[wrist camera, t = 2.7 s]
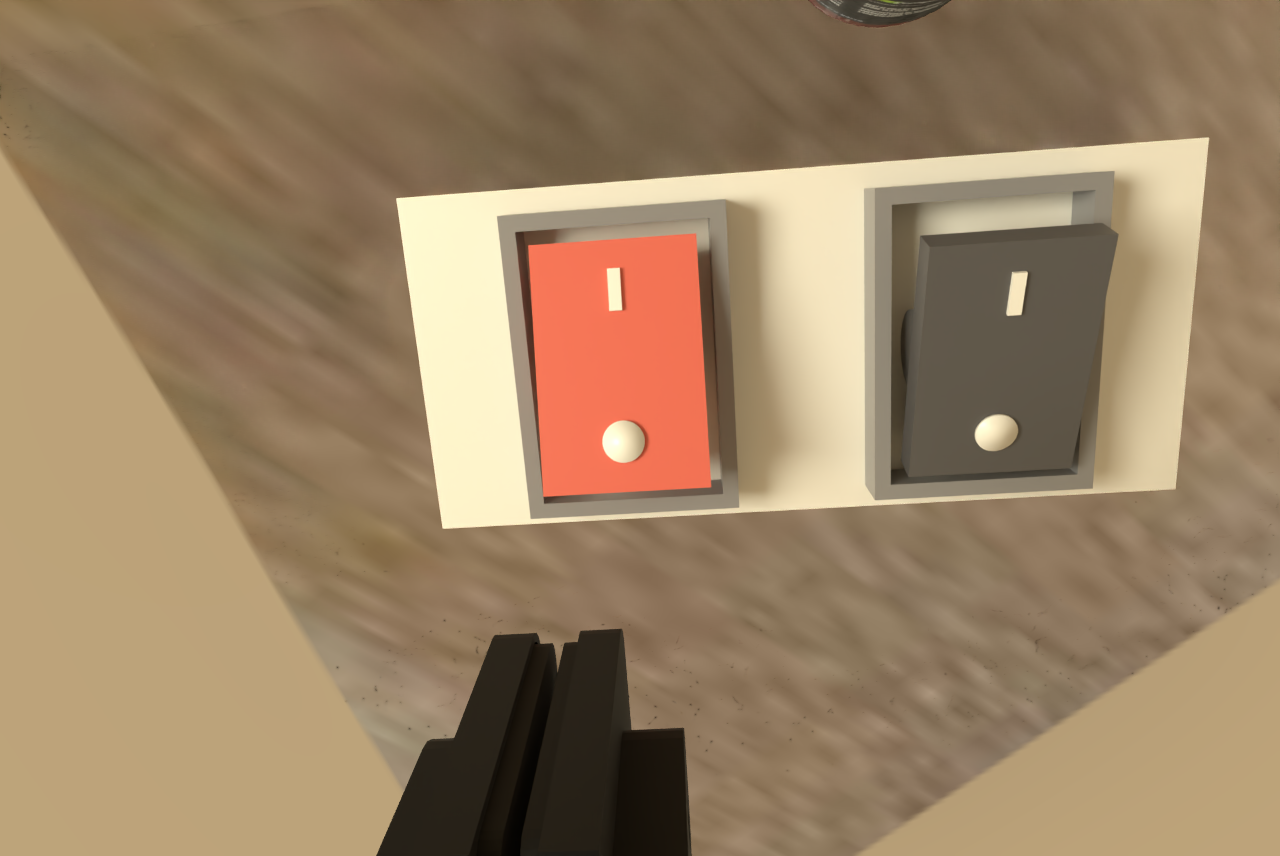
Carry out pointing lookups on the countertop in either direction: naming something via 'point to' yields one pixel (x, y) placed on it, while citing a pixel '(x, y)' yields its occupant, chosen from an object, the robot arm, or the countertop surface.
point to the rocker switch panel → (804, 324)
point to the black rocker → (1002, 347)
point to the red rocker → (619, 365)
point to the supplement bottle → (878, 10)
